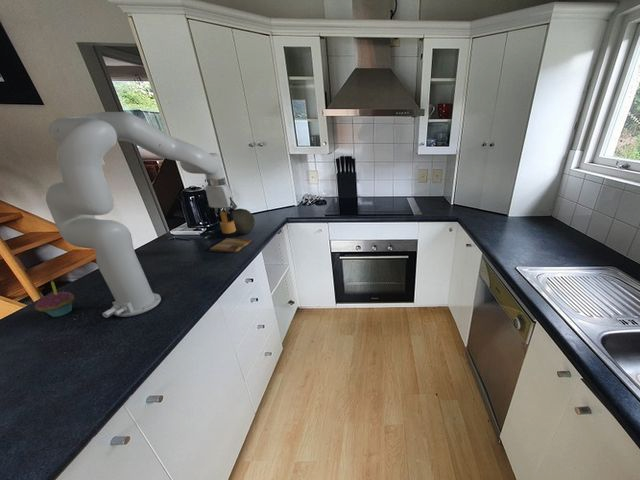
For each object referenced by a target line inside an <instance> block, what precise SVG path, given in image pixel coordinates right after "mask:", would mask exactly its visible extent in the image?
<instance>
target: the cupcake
mask: <svg viewBox="0 0 640 480" xmlns="http://www.w3.org/2000/svg"><path fill="white" fill-rule="evenodd" d="M50 285H51V288H52V292H51V293H50V294H47V295H48V296H47V295H44V296H42V297H40V298H39V299H38V300H37V301H36V302H35V304H34V308H35V310H36V311H39V312H44V313H47V314H48V315H49V316H51V317H54V318H55V317H61V316H64V315H67V314H69V313H70V312H72V310H73V305H72V304H73V302H74V300H75V297H74V294H73V293H71V292H67V291H57V288H56V284H55V282H54V280H53V279H51V282H50Z"/></svg>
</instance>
